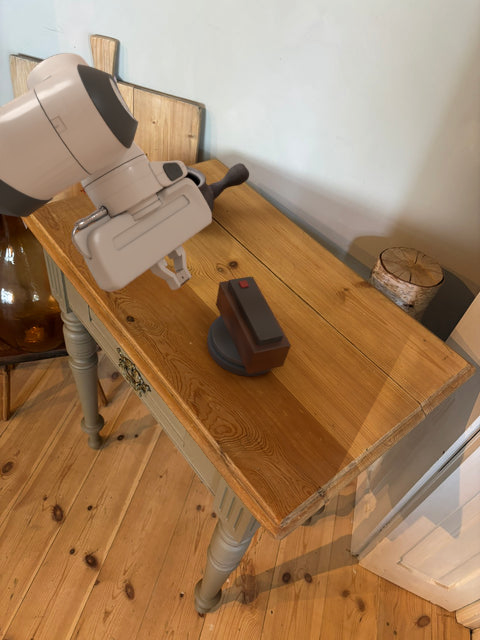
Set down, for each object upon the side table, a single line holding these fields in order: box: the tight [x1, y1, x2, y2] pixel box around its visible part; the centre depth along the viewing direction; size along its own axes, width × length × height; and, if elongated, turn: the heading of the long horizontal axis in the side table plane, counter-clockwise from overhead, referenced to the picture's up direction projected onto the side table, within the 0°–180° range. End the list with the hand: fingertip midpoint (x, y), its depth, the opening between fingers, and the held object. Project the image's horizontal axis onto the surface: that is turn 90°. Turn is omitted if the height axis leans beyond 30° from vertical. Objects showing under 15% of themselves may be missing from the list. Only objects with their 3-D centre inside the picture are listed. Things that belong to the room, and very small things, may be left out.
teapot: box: [184, 162, 250, 213], centre depth 90 cm, size 19×15×10 cm
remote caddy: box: [212, 276, 292, 374], centre depth 68 cm, size 14×11×8 cm
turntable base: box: [206, 319, 273, 377], centre depth 72 cm, size 12×12×2 cm
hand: (182, 284), depth 64 cm, fingers closed
